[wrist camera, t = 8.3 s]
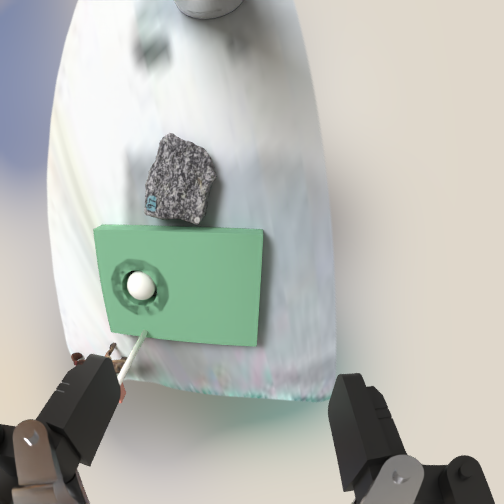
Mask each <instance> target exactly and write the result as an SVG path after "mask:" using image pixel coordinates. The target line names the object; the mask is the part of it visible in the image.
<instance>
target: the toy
mask: <svg viewBox="0 0 504 504" xmlns="http://www.w3.org/2000/svg"><path fill="white" fill-rule="evenodd" d="M115 346H116V343H112V344H111V345H110V350H109V351H108V352H107V353H106V355H105V357H109V358H111V357H110V355H111V353H112V351H113V350H114V347H115ZM81 357H82V354H80V353H74V354H72V355H71V358H72V360H73V361H74V365H76V366H77V365H78V364H79V365H82V364H83V363H84V361H85V360H79V361H77V360H78V359H80V358H81ZM126 359H127V357H123V358H122V359H121V360H112V362H113V365H114V369H115V372H116V374H117V373H120V371H121V369H122V367H123V365H124V364H125V362H126Z"/></svg>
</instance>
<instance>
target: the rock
mask: <svg viewBox="0 0 504 504" xmlns="http://www.w3.org/2000/svg"><path fill="white" fill-rule="evenodd" d="M216 177H217V176H216V174H215V172H214V165H213V162H212V160H211V158H210V157H209V155H208V153H207V152H206V150H205V149H204V148H202V147H200V146H197V145H195V144H194V143H192V142H189V141H184V140H182V139H180V138H179V137H177V136H175V135H174V134H173V133H172V134H171V133H169V134H167V135H166V136H165V137H163V138H162V140H161V141H160V143H159V149H158V153H157V156H156V161H155V163H154V164H153V165H152V167H151V169H150V170H149V175H148V179H147V182H146V184H145V185H146V196H145V198H146V201H145V209H144V213H145V214H146V215H149V216H151V217H156V218H160V219H182V220H184V221H187V222H191V223H193V224H195V225H198V224H199V223H200V222H201V221H202V219H203V217H204V215H205V214H206V209H207V203H208V196H209V191H210V187H211V185H212V182H213V181H214V180H215V179H216Z"/></svg>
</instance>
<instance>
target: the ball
mask: <svg viewBox="0 0 504 504" xmlns="http://www.w3.org/2000/svg"><path fill="white" fill-rule="evenodd" d="M127 288H128V291H129V293H130V294H131V296H133V297H134V298H136V299H138V300H146V299H148V298H150V297H151V296H152V295H153V294H154V292H155V290H156V284H155V283H154V281H153V280H152V278H151V277H150V276H149V275H147V274H145V273H144V272H142V271H136V272H134V273H132V274H131V275H130V277H129V279H128V282H127Z"/></svg>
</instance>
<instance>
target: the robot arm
mask: <svg viewBox="0 0 504 504" xmlns="http://www.w3.org/2000/svg"><path fill="white" fill-rule="evenodd" d="M242 1H243V0H174V2H175V4H176V5H177V7H178V8H179V9H180V10H181V12H183V13H184V14H186V15H187V16H190V17H193V18H198V19H210V18H216V17H220V16H223V15H225V14H228V13H230V12H231V11H233V10H234V9H236V8H237V7H238V6H239V5H240V4H241V3H242ZM56 389H57V390H56V391H55V392H54V393H53V394H52V396H51V398H50V399H49V400H48V402H47V403H46V405H45V407H44V408H43V409H42V411H41V413H40V414H39V416H38V417H37V418H36V420H33V419H29V420H25V421H22V422H21V423H19V424H18V425H17V426H16V427H15V426H9V425H2V424H0V504H90V503H89V500H88V497H87V495H86V492H85V490H84V487H83V484H82V481H81V478H80V475H79V472H78V470H77V467H78V464H79V463H82V464H84V465H87V466H91V463H92V461H93V458H94V456H95V454H96V451H97V449H98V447H99V445H100V442H101V440H102V438H103V436H104V433H105V431H106V429H107V427H108V424H109V422H110V420H111V418H112V416H113V413H114V411H115V409H116V407H117V405H118V403H119V400H120V396H121V388H120V384H119V381H118V378H117V375H116V372H115V369H114V365H113V362H112V360H111V358H109V357H104V356H99V355H95V354H90V355H89V356H88V357H87V359H86V360H85V361H84V363H83V364H82V365H79V364H78V365H77V366H76V367H74V368H73V369H71V370H70V371H68V373H67V374H66V376H65V377H64V378H63V380H62V383H60V384H59V386H58V387H57V388H56ZM328 417H329V422H330V427H331V431H332V436H333V441H334V446H335V451H336V455H337V460H338V465H339V470H340V476H341V481H342V486H343V491H344V492H346V491H353V490H354V493H355V499H354V501H353V502H352V504H495V503H494V500H493V497H492V494H491V491H490V489H489V486H488V483H487V481H486V479H485V476H484V473H483V471H482V468H481V466H480V464H479V463H478V461H477V460H475V459H474V458H472V457H470V456H465V455H464V456H458V457H456V458H455V459H453V460H452V461H451V462H450V463H449V464H448V465H422V464H421V463H420V462H419V461H418V460H417V459H416V458H414V457H412V456H409V455H407V453H406V451H405V449H404V446H403V444H402V441H401V438H400V436H399V433H398V431H397V428H396V426H395V424H394V421H393V419H392V418H391V413H390V411H389V409H388V406H387V404H386V402H385V399H384V397H383V395H382V394H381V393H380V392H379V391H378V390H377V389H376V388H375V387H374V386H371V387H366V385H365V382H364V380H363V377H362V375H361V374H360V373H355V374H340V375H338V376H337V379H336V382H335V386H334V389H333V392H332V395H331V398H330V401H329V406H328Z"/></svg>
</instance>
